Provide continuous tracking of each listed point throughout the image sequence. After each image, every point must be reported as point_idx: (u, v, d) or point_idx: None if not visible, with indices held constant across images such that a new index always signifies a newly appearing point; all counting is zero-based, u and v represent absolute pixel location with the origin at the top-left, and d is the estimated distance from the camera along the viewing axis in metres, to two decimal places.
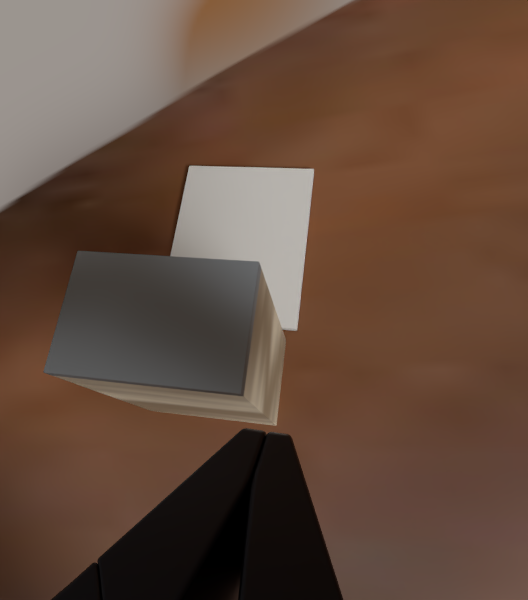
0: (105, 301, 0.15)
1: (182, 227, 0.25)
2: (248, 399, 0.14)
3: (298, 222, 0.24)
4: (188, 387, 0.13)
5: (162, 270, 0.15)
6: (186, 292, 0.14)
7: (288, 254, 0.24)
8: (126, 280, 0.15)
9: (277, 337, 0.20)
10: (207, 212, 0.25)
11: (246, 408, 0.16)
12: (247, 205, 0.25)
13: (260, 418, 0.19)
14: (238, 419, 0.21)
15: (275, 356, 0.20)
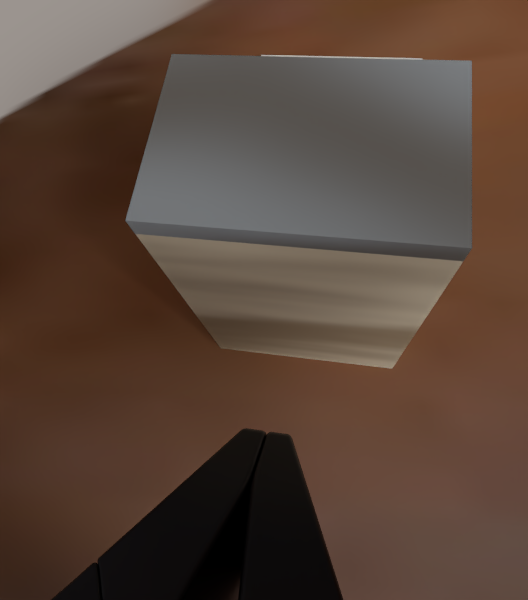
0: (222, 120, 0.09)
1: None
2: (450, 278, 0.09)
3: None
4: (376, 240, 0.08)
5: (312, 76, 0.09)
6: (355, 105, 0.09)
7: None
8: (254, 91, 0.09)
9: None
10: None
11: (408, 314, 0.11)
12: None
13: (390, 348, 0.14)
14: (345, 357, 0.16)
15: None
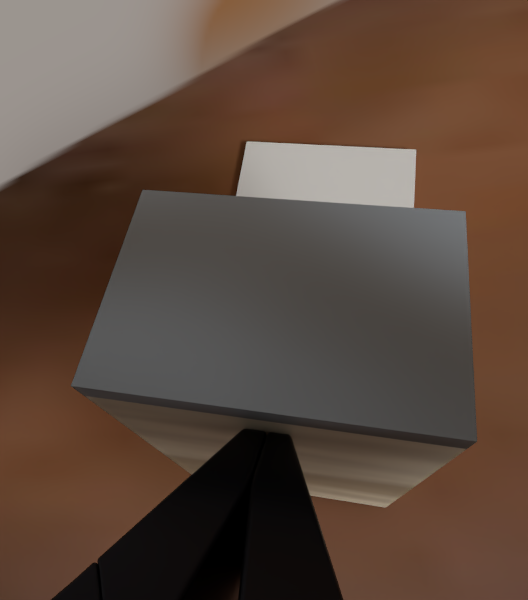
0: (191, 267, 0.08)
1: None
2: (451, 457, 0.08)
3: None
4: (364, 425, 0.07)
5: (292, 221, 0.09)
6: (340, 256, 0.08)
7: None
8: (228, 235, 0.09)
9: None
10: None
11: (402, 476, 0.10)
12: (327, 194, 0.19)
13: (383, 495, 0.12)
14: (333, 495, 0.14)
15: None
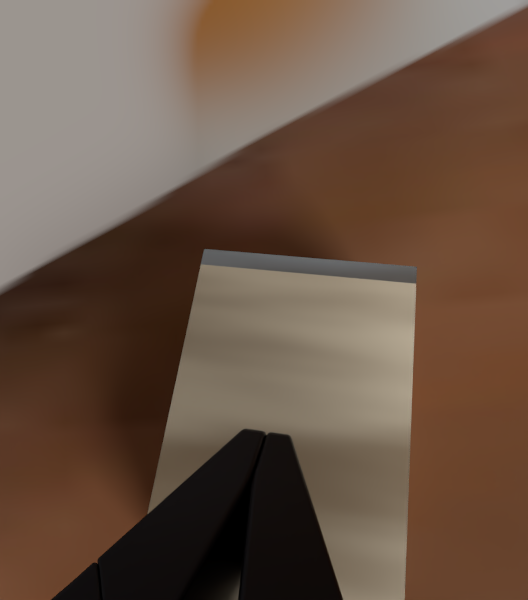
0: None
1: None
2: (414, 313, 0.12)
3: None
4: (360, 263, 0.13)
5: None
6: None
7: None
8: None
9: None
10: None
11: (394, 389, 0.12)
12: None
13: (389, 527, 0.11)
14: None
15: None
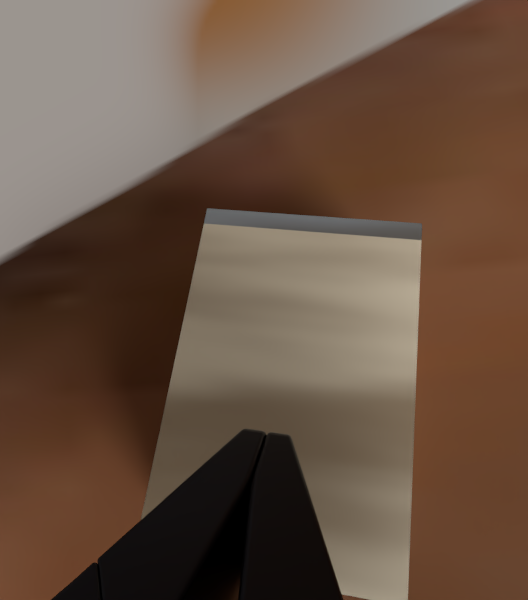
0: None
1: None
2: (419, 269, 0.12)
3: None
4: (364, 221, 0.13)
5: None
6: None
7: None
8: None
9: None
10: None
11: (399, 344, 0.12)
12: None
13: (394, 478, 0.11)
14: (333, 548, 0.10)
15: None
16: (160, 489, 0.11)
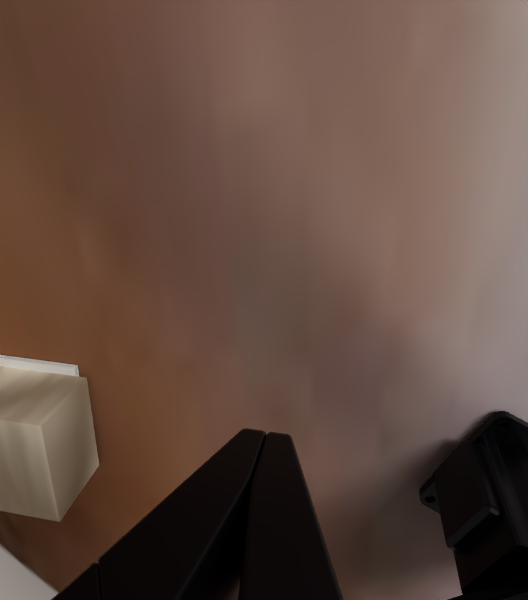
0: None
1: None
2: None
3: None
4: None
5: None
6: None
7: None
8: None
9: (26, 377, 0.25)
10: None
11: None
12: None
13: None
14: (30, 450, 0.22)
15: (17, 386, 0.24)
16: (33, 512, 0.24)
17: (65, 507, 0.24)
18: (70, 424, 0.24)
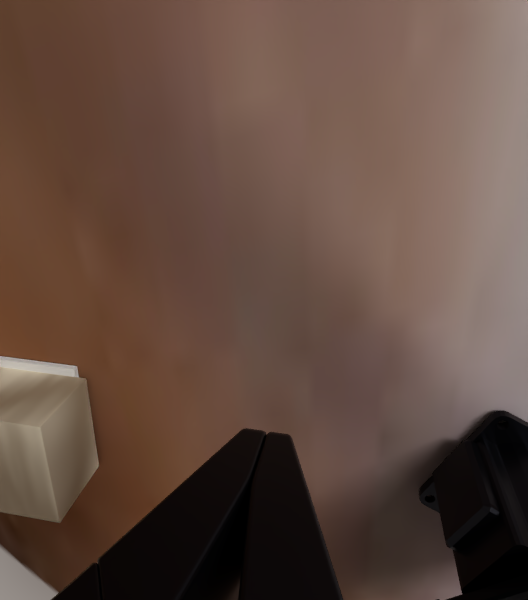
0: None
1: None
2: None
3: None
4: None
5: None
6: None
7: None
8: None
9: (26, 378, 0.25)
10: None
11: None
12: None
13: None
14: (29, 452, 0.22)
15: (17, 387, 0.24)
16: (33, 513, 0.24)
17: (65, 508, 0.24)
18: (70, 425, 0.24)
